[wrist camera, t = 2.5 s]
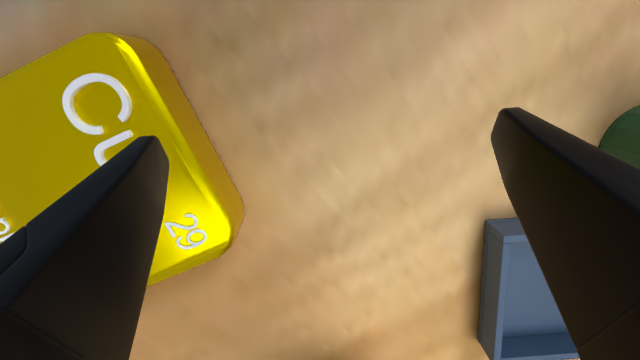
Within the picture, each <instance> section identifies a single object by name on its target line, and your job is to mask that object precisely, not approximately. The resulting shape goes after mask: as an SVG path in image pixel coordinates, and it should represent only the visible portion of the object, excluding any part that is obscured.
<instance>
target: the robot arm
mask: <svg viewBox="0 0 640 360" xmlns="http://www.w3.org/2000/svg"><path fill="white" fill-rule="evenodd" d="M491 143H492V146H493V150H494V153H495V156H496V160H497V163H498V166H499V170H500V173H501V176H502V180H503V183H504V186H505V189H506V191H507V194H508V196H509V199H510V201H511V203H512V205H513V208H514V210H515V212H516V214H517V217H518V219H519V221H520V223H521V226H522V228H523V230H524V233H525V235H526V237H527V239H528V242H529V244H530V246H531V248H532V251H533V253H534V255H535V257H536V260H537V262H538V264H539V267H540V269H541V271H542V273H543V276H544V278H545V280H546V282H547V285H548V287H549V289H550V291H551V294H552V296H553V298H554V300H555V303H556V305H557V307H558V310H559V312H560V314H561V316H562V319H563V321H564V323H565V325H566V328H567V330H568V332H569V334H570V337H571V339H572V341H573V344H574V346H575V348H576V349H577V350H576V351H577V353H578V355H579V358H580V360H640V169H639V168H637V167H635V166H633V165H631V164H629V163H627V162H625V161H623V160H621V159H619V158H617V157H615V156H613V155H611V154H609V153H607V152H605V151H603V150H601V149H599V148H597V147H595V146H593V145H592V144H590V143H588V142H586V141H584V140H582V139H580V138H578V137H576V136H574V135H572V134H570V133H568V132H566V131H564V130H562V129H560V128H558V127H556V126H554V125H552V124H550V123H548V122H546V121H544V120H542V119H541V118H539V117H537V116H535V115H533V114H531V113H529V112H527V111H525V110H523V109H521V108H518V107H514V108H504V109H502V110H501V111H500V112H499V114H498V117H497V119H496V122H495V125H494V127H493V130H492V133H491ZM168 175H169V159H168V157H167V155H166V153H165V151H164V149H163V146H162V144H161V142H160V140H159V139H158V138H157V137H156V136H154V135H150V136H140V137H138V138H137V139H135V140H134V141H133V142H131V143H130V144H129V145H128V146H126V147H125V148H124V149H122V150H121V151H120V152H118V153H117V154H116V155H115V156H113V157H112V158H111V159H109V160H108V161H107V162H106V163H104V164H103V165H102V166H100V167H99V168H98V169H96V170H95V171H94V172H93V173H91V174H90V175H89V176H87V177H86V178H85V179H84V180H82V181H81V182H80V183H78V184H77V185H76V186H74V187H73V188H72V189H71V190H69V191H68V192H67V193H65V194H64V195H63V196H62V197H60V198H59V199H58V200H56V201H55V202H54V203H52V204H51V205H50V206H49V207H47V208H46V209H45V210H43V211H42V212H41V213H40V214H38V215H37V216H36V217H34V218H33V219H32V220H30V221H29V222H28V223H27V224H26V226H23V227H21V228H20V229H19V230H17V231H16V232H15V233H14V234H12V235H11V236H10V237H8V238H7V239H6V240H4V241H3V242H2V243H0V360H129V356H130V352H131V348H132V344H133V340H134V336H135V332H136V328H137V323H138V319H139V315H140V311H141V307H142V303H143V299H144V295H145V291H146V287H147V283H148V278H149V274H150V270H151V266H152V262H153V258H154V254H155V250H156V246H157V242H158V238H159V233H160V229H161V225H162V221H163V216H164V210H165V202H166V193H167V184H168Z"/></svg>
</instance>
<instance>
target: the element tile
mask: <svg viewBox="0 0 640 360" xmlns="http://www.w3.org/2000/svg"><path fill="white" fill-rule="evenodd" d="M150 135H154V136H156V137H157V138H158V139H159V140H160V142H161V144H162V146H163V149H164V151H165V153H166V155H167V157H168V159H169V175H168V184H167V193H166V202H165V210H164V216H163V221H162V225H161V229H160V233H159V238H158V242H157V246H156V250H155V254H154V258H153V262H152V266H151V270H150V274H149V278H148V283H147V287H148V286H151V285H153V284H155V283H158V282H160V281H163V280H165V279H167V278H170V277H172V276H175V275H177V274H179V273H182V272H184V271H187V270H189V269H191V268H194V267H196V266H199V265H201V264H203V263H206V262H208V261H211V260H213V259H215V258H218V257H220V256H221V255H222V254H224V253H225V252H226V251H227V250H228V249H229V248H230V247H231V246H232V244H233V241H234V239H235V237H236V235H237V232H238V230H239V228H240V226H241V223H242V221H243V218H244V205H243V202H242V199H241V197H240V195H239V193H238V191H237V189H236V188H235V186H234V184H233V182H232V180H231V178H230V177H229V175H228V173H227V171H226V169H225V167H224V166H223V164H222V162H221V160H220V158H219V156H218V155H217V153H216V151H215V149H214V147H213V145H212V144H211V142H210V140H209V138H208V136H207V135H206V133H205V131H204V129H203V127H202V125H201V124H200V122H199V120H198V118H197V116H196V114H195V113H194V111H193V109H192V107H191V105H190V103H189V102H188V100H187V98H186V96H185V94H184V92H183V91H182V89H181V87H180V85H179V83H178V81H177V80H176V78H175V76H174V74H173V72H172V70H171V69H170V67H169V65H168V63H167V61H166V59H165V58H164V57H163V55H162V54H161V53H160V51H159V50H158V49H157V48H156V47H155V46H153V45H152V44H151V43H150V42H149V41H146V40H144V39H141V38H139V37H134V36H128V35H122V34H115V33H109V32H94V33H89V34H85V35H83V36H81V37H80V38H78V39H76V40H74V41H72V42H70V43H68V44H66V45H64V46H62V47H60V48H58V49H56V50H54V51H52V52H50V53H48V54H46V55H44V56H42V57H41V58H39V59H37V60H35V61H33V62H31V63H29V64H27V65H25V66H23V67H21V68H19V69H17V70H15V71H13V72H11V73H9V74H7V75H5V76H3V77H2V78H0V243H2V242H3V241H4V240H6V239H7V238H8V237H10V236H11V235H12V234H14V233H15V232H16V231H17V230H19V229H20V228H21V227H23V226H26V224H27V223H28V222H29V221H30V220H32V219H33V218H34V217H36V216H37V215H38V214H40V213H41V212H42V211H43V210H45V209H46V208H47V207H49V206H50V205H51V204H52V203H54V202H55V201H56V200H58V199H59V198H60V197H62V196H63V195H64V194H65V193H67V192H68V191H69V190H71V189H72V188H73V187H74V186H76V185H77V184H78V183H80V182H81V181H82V180H84V179H85V178H86V177H87V176H89V175H90V174H91V173H93V172H94V171H95V170H96V169H98V168H99V167H100V166H102V165H103V164H104V163H106V162H107V161H108V160H109V159H111V158H112V157H113V156H115V155H116V154H117V153H118V152H120V151H121V150H122V149H124V148H125V147H126V146H128V145H129V144H130V143H131V142H133V141H134V140H135V139H137V138H138V137H140V136H150Z"/></svg>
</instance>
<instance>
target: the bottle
mask: <svg viewBox="0 0 640 360" xmlns="http://www.w3.org/2000/svg"><path fill="white" fill-rule="evenodd" d="M599 149H601V150H603V151H605V152H607V153H609V154H611V155H613V156H615V157H617V158H619V159H621V160H623V161H625V162H627V163H629V164H631V165H633V166H635V167H637V168H639V169H640V105H639V106H637V107H634V108H633V109H631V110H629V111H627V112H626V113H624V114H623V115H621V116H620V117H619V118H618V119H617V120H616V121H615V122H614V123H613V124H612V125H611V126H610V128H609V129H608V130H607V132H606V133H605V135H604V137H603V139H602V141H601V144H600V147H599Z"/></svg>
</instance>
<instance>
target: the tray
mask: <svg viewBox="0 0 640 360" xmlns="http://www.w3.org/2000/svg"><path fill="white" fill-rule="evenodd" d="M478 341H479V343H480V344H481V346H482V348H483V349H484V351H485V353H486V354H487V356H488V358H489V359H490V360H565V359H578V358H579V355H578V353H577V351H576V350H577V349H576V348H575V346H574V344H573V341H572V339H571V337H570V334H569V332H568V330H567V328H566V325H565V323H564V321H563V319H562V316H561V314H560V312H559V310H558V307H557V305H556V303H555V300H554V298H553V296H552V294H551V291H550V289H549V287H548V285H547V282H546V280H545V278H544V276H543V273H542V271H541V269H540V267H539V264H538V262H537V260H536V257H535V255H534V253H533V251H532V248H531V246H530V244H529V242H528V239H527V237H526V235H525V233H524V230H523V228H522V226H521V223H520V221H519V219H518V218H506V219H494V220H486V224H485V239H484V254H483V269H482V284H481V299H480V314H479V329H478Z"/></svg>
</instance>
